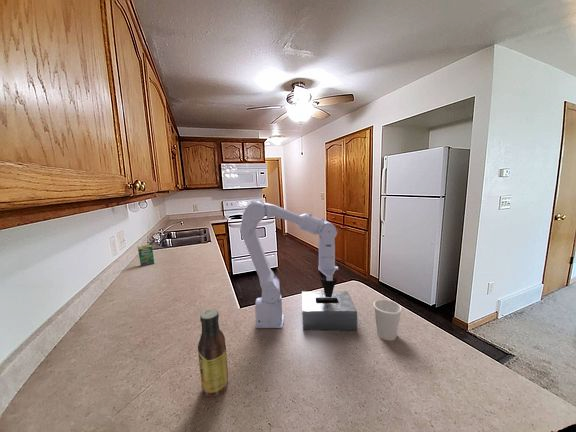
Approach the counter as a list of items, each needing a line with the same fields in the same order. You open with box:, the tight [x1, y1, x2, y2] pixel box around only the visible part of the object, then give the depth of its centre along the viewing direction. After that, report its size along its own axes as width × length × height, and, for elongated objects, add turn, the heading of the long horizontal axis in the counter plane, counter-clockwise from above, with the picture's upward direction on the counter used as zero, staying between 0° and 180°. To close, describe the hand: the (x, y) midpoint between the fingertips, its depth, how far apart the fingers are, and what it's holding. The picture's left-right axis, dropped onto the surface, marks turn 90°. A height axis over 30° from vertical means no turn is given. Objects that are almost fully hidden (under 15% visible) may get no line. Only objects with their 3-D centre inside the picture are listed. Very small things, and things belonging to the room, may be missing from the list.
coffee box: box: [137, 244, 155, 267], centre depth 146 cm, size 8×3×13 cm, turn 125°
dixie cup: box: [373, 299, 403, 342], centre depth 71 cm, size 8×8×10 cm
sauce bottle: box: [197, 308, 229, 398], centre depth 53 cm, size 6×6×20 cm
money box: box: [301, 290, 358, 332], centre depth 81 cm, size 18×14×7 cm
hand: (326, 291), depth 80 cm, fingers open, 7 cm apart
